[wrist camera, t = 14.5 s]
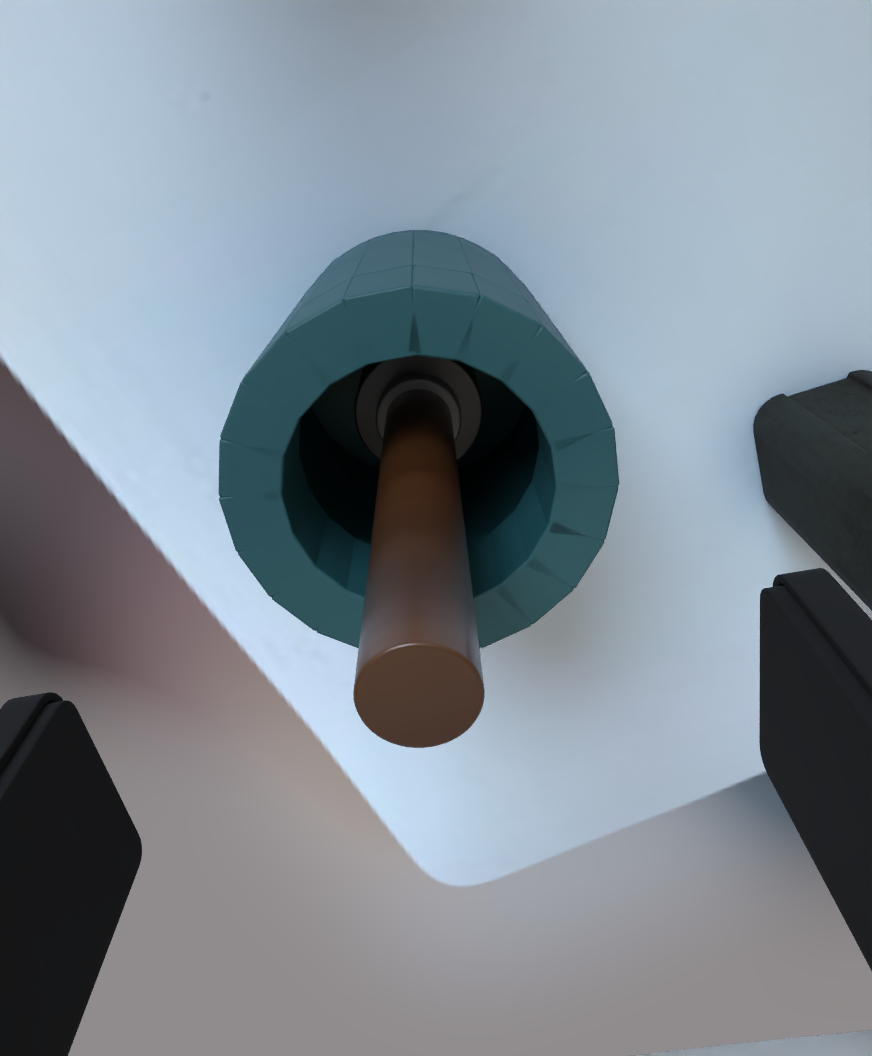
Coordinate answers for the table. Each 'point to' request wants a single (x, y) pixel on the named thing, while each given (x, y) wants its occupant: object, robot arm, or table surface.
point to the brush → (418, 554)
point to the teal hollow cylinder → (353, 471)
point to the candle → (823, 472)
